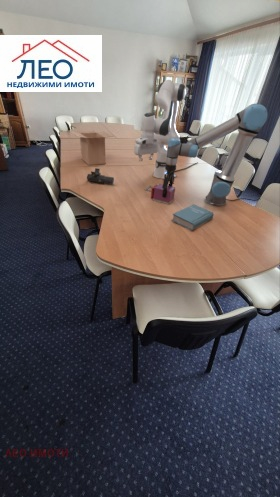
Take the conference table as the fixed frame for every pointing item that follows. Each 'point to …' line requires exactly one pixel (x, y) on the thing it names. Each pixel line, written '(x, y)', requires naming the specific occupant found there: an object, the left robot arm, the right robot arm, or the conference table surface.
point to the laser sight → (99, 177)
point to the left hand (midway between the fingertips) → (145, 160)
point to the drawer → (151, 190)
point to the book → (192, 217)
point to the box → (92, 146)
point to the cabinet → (159, 192)
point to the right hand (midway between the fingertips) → (166, 194)
